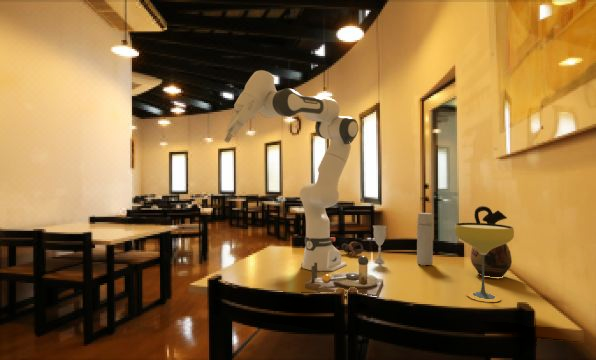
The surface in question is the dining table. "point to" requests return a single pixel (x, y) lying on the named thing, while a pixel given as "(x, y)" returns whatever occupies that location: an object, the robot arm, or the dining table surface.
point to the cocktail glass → (484, 242)
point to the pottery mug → (352, 248)
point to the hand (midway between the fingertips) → (229, 138)
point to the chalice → (379, 240)
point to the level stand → (332, 286)
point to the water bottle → (425, 239)
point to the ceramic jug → (497, 257)
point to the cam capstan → (354, 277)
